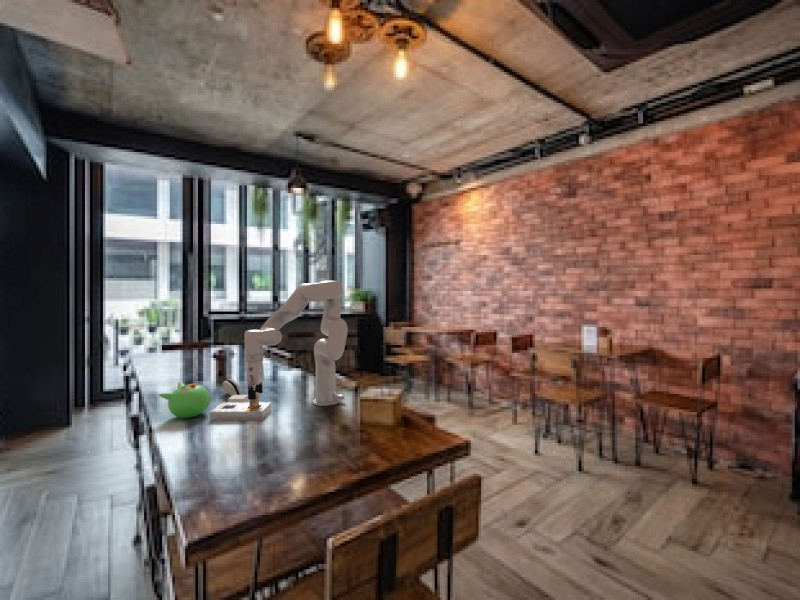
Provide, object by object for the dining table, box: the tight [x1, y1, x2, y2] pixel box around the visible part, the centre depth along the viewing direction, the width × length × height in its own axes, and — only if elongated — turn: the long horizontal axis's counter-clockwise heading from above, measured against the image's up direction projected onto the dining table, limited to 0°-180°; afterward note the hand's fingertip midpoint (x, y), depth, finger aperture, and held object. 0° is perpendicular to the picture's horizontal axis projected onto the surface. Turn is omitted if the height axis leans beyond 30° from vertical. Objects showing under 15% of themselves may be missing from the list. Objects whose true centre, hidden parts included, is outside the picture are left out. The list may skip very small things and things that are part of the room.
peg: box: [248, 392, 260, 409], centre depth 184 cm, size 4×4×10 cm
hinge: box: [222, 378, 245, 397], centre depth 217 cm, size 17×5×10 cm, turn 40°
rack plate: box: [209, 401, 272, 422], centre depth 184 cm, size 22×14×4 cm, turn 92°
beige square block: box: [227, 394, 249, 403], centre depth 197 cm, size 7×7×5 cm
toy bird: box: [158, 381, 211, 419], centre depth 183 cm, size 18×17×15 cm
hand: (255, 396), depth 184 cm, fingers open, 9 cm apart
